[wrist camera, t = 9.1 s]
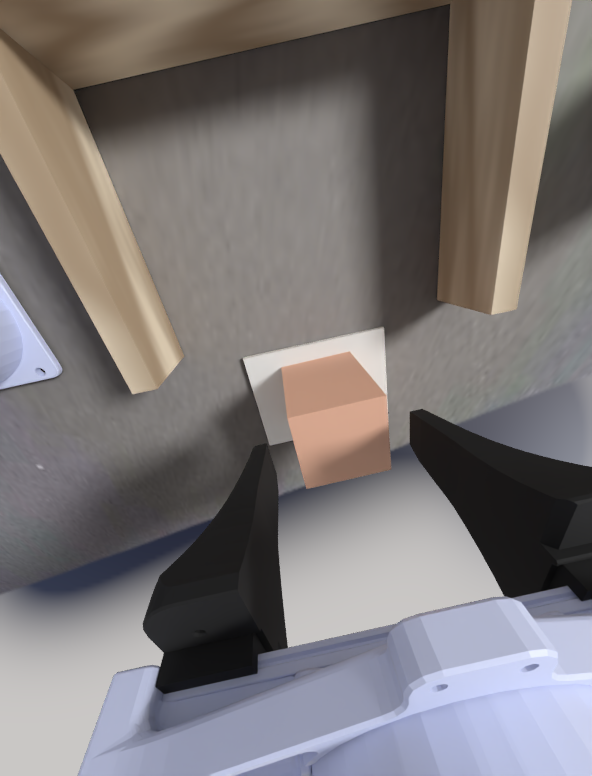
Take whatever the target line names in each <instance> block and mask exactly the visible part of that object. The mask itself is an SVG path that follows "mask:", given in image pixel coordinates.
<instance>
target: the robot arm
mask: <svg viewBox="0 0 592 776" xmlns="http://www.w3.org/2000/svg"><path fill="white" fill-rule="evenodd" d="M40 368H41V369H43V370H44V371H45V373H44V372H42V371H41V369H40ZM61 373H62V367H61V365H60V364H59V362H58V361H57V359H56V358H55V356H54V354H53V353H52V351H51V350H50V348H49V347H48V345H47V344H46V342H45V341H44V339H43V338H42V336H41V335H40V333H39V332H38V330H37V329H36V327H35V326H34V324H33V322H32V321H31V319H30V318H29V316H28V315H27V313H26V312H25V310H24V309H23V307H22V306H21V304H20V303H19V301H18V300H17V298H16V297H15V295H14V293H13V292H12V290H11V289H10V287H9V286H8V284H7V283H6V281H5V280H4V278H3V277H2V275H1V274H0V389H5V388H9V387H14V386H18V385H23V384H27V383H32V382H36V381H41V380H45V379H50V378H54V377H56V376H58V375H60V374H61ZM410 445H411V447H412V449H413V451H414V452H415V454H416V456H417V458H418V459H419V461H420V463H421V464H422V465H423V467H424V468H425V469H426V470H427V472H428V473H429V475H430V476H431V477H432V479H433V480H434V481H435V483H436V484H437V485H438V486H439V488H440V489H441V490H442V491H443V493H444V494H445V496H446V497H447V498H448V500H449V501H450V502H451V504H452V505H453V506H454V508H455V510H456V511H457V513H458V515H459V516H460V518H461V519H462V521H463V523H464V524H465V526H466V527H467V529H468V531H469V533H470V534H471V536H472V538H473V539H474V541H475V543H476V545H477V546H478V548H479V550H480V552H481V553H482V555H483V557H484V559H485V561H486V562H487V564H488V566H489V568H490V570H491V571H492V573H493V575H494V577H495V579H496V581H497V583H498V585H499V587H500V589H501V591H502V592H503V594H504V597H493V598H488V599H483V600H479V601H474V602H470V603H465V604H461V605H456V606H452V607H447V608H443V609H438V610H434V611H429V612H425V613H420V614H416V615H414V616H411V617H408V618H405V619H403V620H401V621H400V622H398V623H397V624H393V625H388V626H384V627H379V628H375V629H370V630H366V631H361V632H357V633H353V634H348V635H343V636H339V637H335V638H330V639H325V640H321V641H316V642H312V643H308V644H303V645H299V646H294V647H289V648H288V646H287V638H286V628H285V619H284V609H283V599H282V588H281V578H280V566H279V554H278V484H277V475H276V471H275V468H274V465H273V461H272V458H271V455H270V452H269V449H268V446H267V444H263V445H258V446H255V447H254V448H253V450H252V453H251V455H250V458H249V460H248V462H247V464H246V466H245V468H244V470H243V472H242V474H241V476H240V478H239V480H238V482H237V484H236V486H235V487H234V489H233V491H232V493H231V494H230V496H229V498H228V499H227V501H226V502H225V504H224V505H223V507H222V508H221V510H220V511H219V512H218V514H217V515H216V516H215V518H214V519H213V520H212V522H211V523H210V524H209V526H208V527H207V528H206V529H205V531H204V532H203V533H202V534H201V535H200V536H199V537H198V539H197V540H196V541H195V542H194V543H193V544H192V545H191V546H190V547H189V548H188V549H187V550H186V551H185V552H184V554H182V555H181V556H180V557H179V558H178V559H177V560H176V561H175V562H174V563H173V564H172V565H171V566H170V567H169V568H168V569H167V570H166V571H164V572H163V573H162V574H161V575H160V577H159V579H158V582H157V584H156V586H155V589H154V591H153V594H152V597H151V600H150V603H149V606H148V609H147V612H146V615H145V618H144V621H143V630H144V631H145V633H146V634H147V636H148V637H149V638H150V639H151V640H152V641H153V642H154V643H155V644H156V645H157V646H158V647H159V648H160V649H161V650H162V651H163V652H164V656H163V659H162V663H161V667H159V666H155V665H150V666H144V667H139V668H135V669H130V670H126V671H121V672H117V673H116V674H115V675H114V676H113V679H112V682H111V684H110V687H109V690H108V693H107V695H106V698H105V701H104V704H103V706H102V709H101V712H100V715H99V718H98V720H97V723H96V726H95V729H94V731H93V734H92V737H91V740H90V742H89V745H88V748H87V751H86V753H85V756H84V759H83V762H82V765H81V767H80V770H79V773H78V776H592V467H589V466H583V465H578V464H573V463H569V462H564V461H559V460H555V459H551V458H547V457H543V456H539V455H536V454H532V453H529V452H524V451H522V450H518V449H515V448H512V447H509V446H506V445H503V444H500V443H497V442H494V441H492V440H489V439H487V438H484V437H482V436H479V435H477V434H474V433H472V432H470V431H467V430H465V429H463V428H461V427H459V426H457V425H455V424H452V423H450V422H448V421H446V420H444V419H442V418H440V417H438V416H436V415H434V414H432V413H430V412H428V411H425V410H423V409H420V410H415V411H411V412H410Z"/></svg>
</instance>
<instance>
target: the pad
mask: <svg viewBox="0 0 592 776" xmlns="http://www.w3.org/2000/svg"><path fill="white" fill-rule="evenodd" d="M349 351H350V352H351V354H352V355H353V356H354V357H355V358H356V359H357V361H358V362H359V363H360V364H361V365H362V367H363V368H364V369H365V370H366V371H367V373H368V374H369V375H370V376H371V377H372V379H373V380H374V381H375V382H376V383H377V385H378V386H379V387H380V388H381V389H382V391H383V392H384V393H385V394H386V395H387V381H386V360H385V338H384V327H378V328H374V329H369V330H365V331H360V332H356V333H351V334H347V335H342V336H338V337H333V338H329V339H324V340H320V341H315V342H311V343H306V344H302V345H297V346H293V347H288V348H284V349H279V350H275V351H270V352H266V353H261V354H257V355H252V356H248V357H243V361H244V364H245V367H246V370H247V374H248V377H249V380H250V383H251V387H252V390H253V393H254V396H255V399H256V403H257V406H258V409H259V412H260V416H261V419H262V422H263V425H264V428H265V432H266V435H267V438H268V441H269V445H274V444H279V443H284V442H288V441H293V438H292V434H291V430H290V427H289V423H288V419H287V412H286V404H285V395H284V387H283V378H282V370H281V367H285V366H289V365H293V364H298V363H302V362H306V361H310V360H315V359H319V358H323V357H327V356H332V355H336V354H340V353H344V352H349ZM387 410H388V403H387Z"/></svg>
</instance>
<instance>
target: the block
mask: <svg viewBox="0 0 592 776" xmlns="http://www.w3.org/2000/svg"><path fill="white" fill-rule="evenodd" d="M281 370H282V378H283V387H284V395H285V404H286V412H287V419H288V423H289V427H290V430H291V434H292V438H293V441H294V445H295V449H296V452H297V456H298V460H299V463H300V467H301V471H302V474H303V478H304V481H305V485H306V488H307V489H308V488H312V487H317V486H321V485H326V484H330V483H334V482H339V481H343V480H347V479H352V478H356V477H361V476H365V475H369V474H374V473H378V472H383V471H387V470H391V459H390V442H389V426H388V410H387V395H386V394H385V393H384V392H383V391H382V389H381V388H380V387H379V386H378V385H377V383H376V382H375V381H374V380H373V379H372V377H371V376H370V375H369V374H368V373H367V371H366V370H365V369H364V368H363V367H362V365H361V364H360V363H359V362H358V361H357V359H356V358H355V357H354V356H353V355H352V354H351V352H350V351H349V352H344V353H340V354H336V355H332V356H327V357H323V358H319V359H315V360H310V361H306V362H302V363H298V364H293V365H289V366H285V367H281Z"/></svg>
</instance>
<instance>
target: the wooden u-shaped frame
mask: <svg viewBox="0 0 592 776" xmlns="http://www.w3.org/2000/svg"><path fill="white" fill-rule="evenodd" d="M447 4H450V22H449V44H448V67H447V89H446V111H445V134H444V156H443V178H442V201H441V223H440V246H439V268H438V290H437V300H438V301H442V302H446V303H449V304H453V305H457V306H460V307H464V308H468V309H471V310H475V311H479V312H482V313H486V314H490V315H493V314H498V313H502V312H507V311H511V310H516V309H517V304H518V298H519V293H520V287H521V281H522V276H523V270H524V265H525V259H526V254H527V248H528V243H529V237H530V231H531V226H532V220H533V215H534V209H535V204H536V198H537V193H538V187H539V181H540V176H541V170H542V165H543V159H544V154H545V148H546V143H547V137H548V131H549V126H550V120H551V115H552V109H553V104H554V98H555V93H556V87H557V82H558V76H559V70H560V65H561V59H562V54H563V48H564V43H565V37H566V32H567V26H568V20H569V15H570V9H571V4H572V0H0V154H1V156H2V158H3V159H4V161H5V163H6V165H7V167H8V169H9V170H10V172H11V174H12V176H13V178H14V179H15V181H16V183H17V185H18V187H19V189H20V190H21V192H22V194H23V196H24V198H25V199H26V201H27V203H28V205H29V207H30V209H31V210H32V212H33V214H34V216H35V218H36V219H37V221H38V223H39V225H40V227H41V229H42V230H43V232H44V234H45V236H46V238H47V239H48V241H49V243H50V245H51V247H52V249H53V250H54V252H55V254H56V256H57V258H58V259H59V261H60V263H61V265H62V267H63V269H64V270H65V272H66V274H67V276H68V278H69V279H70V281H71V283H72V285H73V287H74V289H75V290H76V292H77V294H78V296H79V298H80V299H81V301H82V303H83V305H84V307H85V309H86V310H87V312H88V314H89V316H90V318H91V319H92V321H93V323H94V325H95V327H96V329H97V330H98V332H99V334H100V336H101V338H102V339H103V341H104V343H105V345H106V347H107V349H108V350H109V352H110V354H111V356H112V358H113V359H114V361H115V363H116V365H117V367H118V369H119V370H120V372H121V374H122V376H123V378H124V379H125V381H126V383H127V385H128V387H129V389H130V390H131V392H132V394H137V393H141V392H146V391H150V390H155V389H158V388H159V386H160V385H161V384H162V383H163V382H164V380H165V379H166V378H167V377H168V375H169V374H170V373H171V372H172V371H173V369H174V368H175V367H176V366H177V364H178V363H179V362H180V361H181V360H182V358H183V357H184V355H183V352H182V350H181V347H180V345H179V343H178V340H177V338H176V335H175V333H174V331H173V328H172V326H171V323H170V321H169V319H168V316H167V314H166V311H165V309H164V307H163V304H162V302H161V299H160V297H159V295H158V292H157V290H156V287H155V285H154V283H153V280H152V278H151V275H150V273H149V271H148V268H147V266H146V263H145V261H144V259H143V256H142V254H141V251H140V249H139V247H138V244H137V242H136V239H135V237H134V235H133V232H132V230H131V227H130V225H129V223H128V220H127V218H126V215H125V213H124V211H123V208H122V206H121V203H120V201H119V199H118V196H117V194H116V191H115V189H114V187H113V184H112V182H111V179H110V177H109V175H108V172H107V170H106V167H105V165H104V163H103V160H102V158H101V155H100V153H99V151H98V148H97V146H96V143H95V141H94V139H93V136H92V134H91V131H90V129H89V127H88V124H87V122H86V119H85V117H84V115H83V112H82V110H81V107H80V105H79V103H78V100H77V98H76V95H75V93H74V91H73V90H75V89H79V88H83V87H88V86H92V85H97V84H101V83H105V82H110V81H114V80H118V79H123V78H127V77H132V76H136V75H140V74H145V73H149V72H154V71H158V70H162V69H167V68H171V67H175V66H180V65H184V64H189V63H193V62H197V61H202V60H206V59H211V58H215V57H219V56H224V55H228V54H232V53H237V52H241V51H246V50H250V49H254V48H259V47H263V46H268V45H272V44H276V43H281V42H285V41H289V40H294V39H298V38H303V37H307V36H311V35H316V34H320V33H325V32H329V31H333V30H338V29H342V28H346V27H351V26H355V25H360V24H364V23H368V22H373V21H377V20H382V19H386V18H390V17H395V16H399V15H403V14H408V13H412V12H417V11H421V10H425V9H430V8H434V7H439V6H443V5H447Z"/></svg>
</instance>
